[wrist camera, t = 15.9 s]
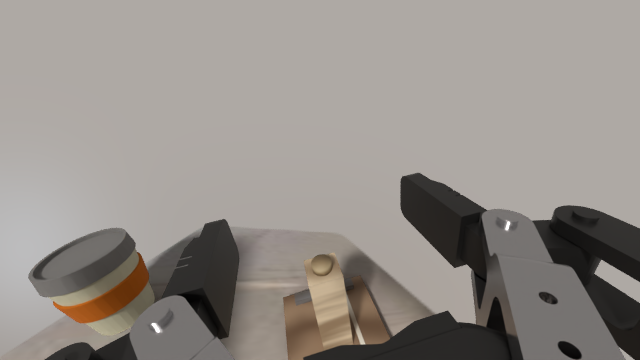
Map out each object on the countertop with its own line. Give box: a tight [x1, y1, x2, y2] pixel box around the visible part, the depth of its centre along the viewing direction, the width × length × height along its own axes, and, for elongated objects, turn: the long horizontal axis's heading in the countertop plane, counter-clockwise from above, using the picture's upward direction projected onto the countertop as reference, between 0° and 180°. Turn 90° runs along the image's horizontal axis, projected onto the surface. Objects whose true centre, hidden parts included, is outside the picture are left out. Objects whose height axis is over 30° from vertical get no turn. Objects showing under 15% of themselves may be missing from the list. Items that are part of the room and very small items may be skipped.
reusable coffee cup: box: [28, 228, 155, 336], centre depth 41 cm, size 13×13×15 cm
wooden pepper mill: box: [304, 253, 353, 350], centre depth 30 cm, size 4×4×14 cm
